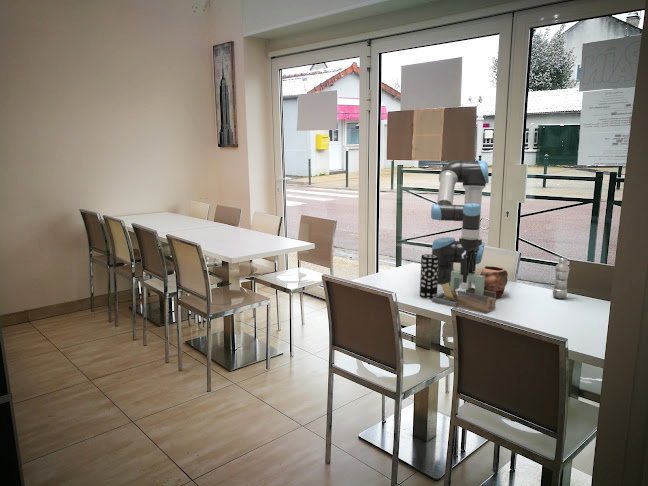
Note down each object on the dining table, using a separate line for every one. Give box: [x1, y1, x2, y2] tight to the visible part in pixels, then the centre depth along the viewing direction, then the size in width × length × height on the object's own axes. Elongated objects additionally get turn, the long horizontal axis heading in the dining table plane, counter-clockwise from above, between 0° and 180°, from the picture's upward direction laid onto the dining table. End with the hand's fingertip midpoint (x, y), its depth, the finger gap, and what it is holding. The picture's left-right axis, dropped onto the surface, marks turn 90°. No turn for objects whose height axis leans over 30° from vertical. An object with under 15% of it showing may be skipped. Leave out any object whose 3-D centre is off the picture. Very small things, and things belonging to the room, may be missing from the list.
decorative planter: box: [479, 265, 509, 299], centre depth 252 cm, size 20×12×14 cm, turn 130°
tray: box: [431, 292, 458, 308], centre depth 243 cm, size 12×12×2 cm
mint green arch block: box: [450, 269, 485, 295], centre depth 236 cm, size 6×15×8 cm, turn 49°
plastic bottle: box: [552, 256, 570, 300], centre depth 248 cm, size 6×7×20 cm
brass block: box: [443, 290, 458, 301], centre depth 242 cm, size 4×4×4 cm
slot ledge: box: [456, 287, 497, 314], centre depth 234 cm, size 10×14×8 cm
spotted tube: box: [419, 253, 439, 300], centre depth 249 cm, size 8×8×20 cm
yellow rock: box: [440, 282, 452, 293], centre depth 242 cm, size 4×4×4 cm
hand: (466, 288), depth 236 cm, fingers closed on mint green arch block, 3 cm apart
